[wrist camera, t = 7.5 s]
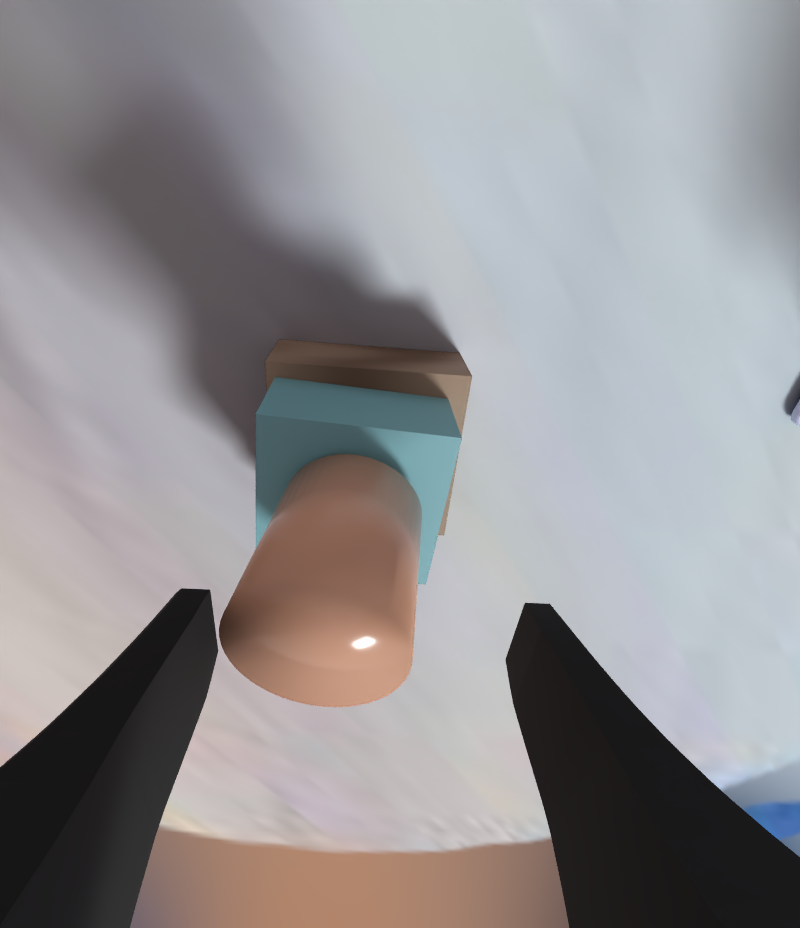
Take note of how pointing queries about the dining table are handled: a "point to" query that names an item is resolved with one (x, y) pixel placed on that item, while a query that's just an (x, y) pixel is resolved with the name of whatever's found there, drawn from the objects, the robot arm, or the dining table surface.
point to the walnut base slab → (377, 373)
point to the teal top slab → (356, 443)
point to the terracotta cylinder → (331, 587)
